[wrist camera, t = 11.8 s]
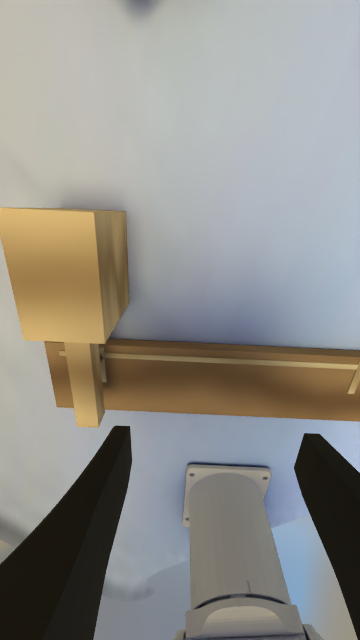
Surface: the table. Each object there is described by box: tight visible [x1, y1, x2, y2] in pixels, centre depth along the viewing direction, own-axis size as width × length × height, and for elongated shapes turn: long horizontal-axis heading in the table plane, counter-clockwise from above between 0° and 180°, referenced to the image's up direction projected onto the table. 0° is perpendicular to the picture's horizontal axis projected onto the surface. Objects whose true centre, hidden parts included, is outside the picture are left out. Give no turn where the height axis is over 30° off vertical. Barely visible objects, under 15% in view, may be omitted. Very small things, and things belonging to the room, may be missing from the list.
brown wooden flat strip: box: [45, 339, 360, 421], centre depth 20 cm, size 6×28×1 cm, turn 87°
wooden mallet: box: [0, 208, 129, 428], centre depth 15 cm, size 13×4×6 cm, turn 178°
